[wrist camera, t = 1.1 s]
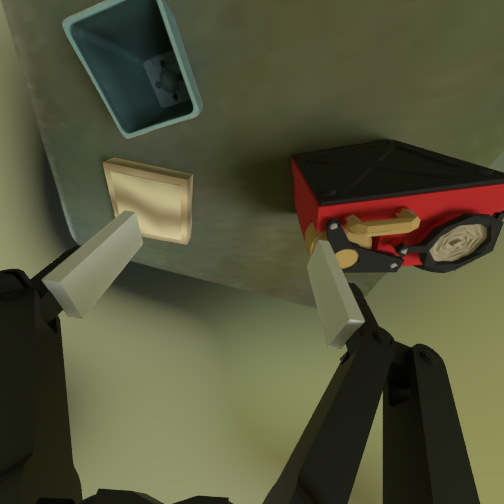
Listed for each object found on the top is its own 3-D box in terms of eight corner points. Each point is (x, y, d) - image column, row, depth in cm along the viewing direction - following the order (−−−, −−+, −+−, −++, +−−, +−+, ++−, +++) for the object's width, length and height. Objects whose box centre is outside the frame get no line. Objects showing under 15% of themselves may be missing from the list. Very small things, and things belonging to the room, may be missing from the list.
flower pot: (187, 15, 22) (152, -25, 15) (216, 111, 27) (200, 115, 20) (119, 44, 23) (57, 20, 16) (158, 130, 29) (124, 140, 21)
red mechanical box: (290, 214, 36) (314, 306, 20) (287, 153, 30) (319, 215, 14) (384, 203, 34) (493, 294, 18) (401, 135, 28) (589, 182, 12)
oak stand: (114, 157, 31) (100, 162, 28) (192, 174, 32) (186, 180, 29) (127, 224, 38) (117, 233, 35) (191, 235, 39) (186, 245, 37)
